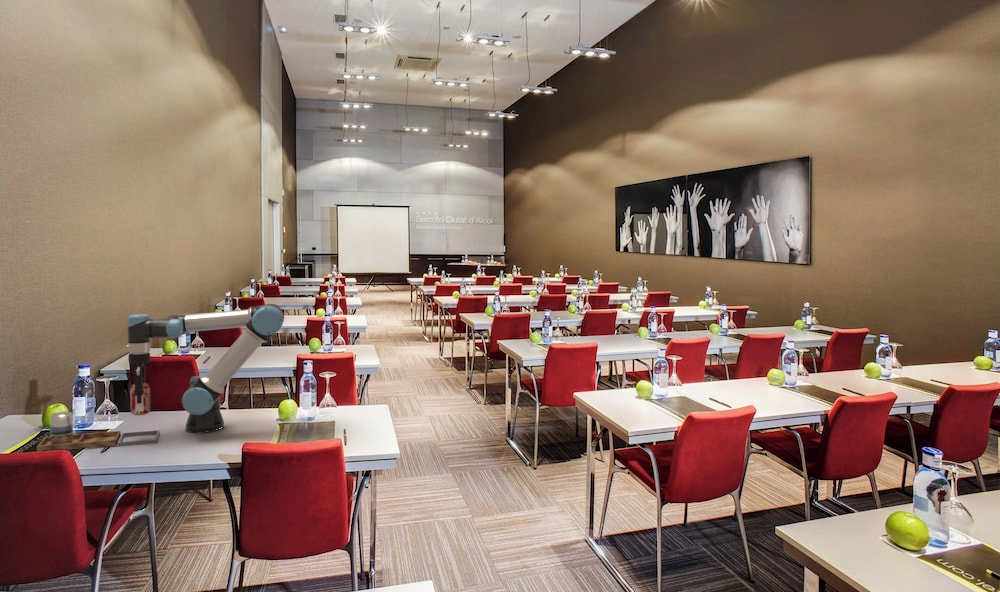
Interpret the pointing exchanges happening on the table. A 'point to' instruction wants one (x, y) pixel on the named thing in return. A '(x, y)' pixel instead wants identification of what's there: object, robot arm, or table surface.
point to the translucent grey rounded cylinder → (61, 428)
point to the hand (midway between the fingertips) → (140, 408)
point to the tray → (138, 440)
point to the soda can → (145, 399)
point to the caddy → (83, 441)
